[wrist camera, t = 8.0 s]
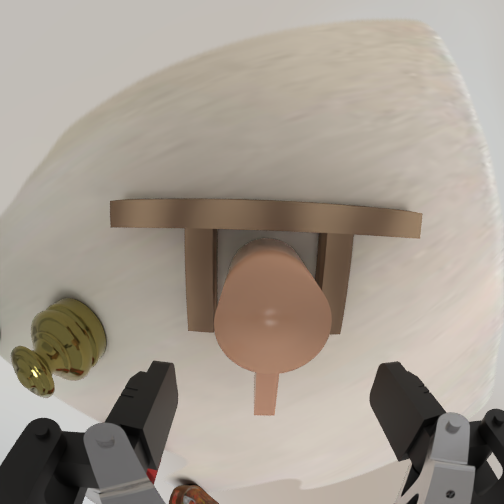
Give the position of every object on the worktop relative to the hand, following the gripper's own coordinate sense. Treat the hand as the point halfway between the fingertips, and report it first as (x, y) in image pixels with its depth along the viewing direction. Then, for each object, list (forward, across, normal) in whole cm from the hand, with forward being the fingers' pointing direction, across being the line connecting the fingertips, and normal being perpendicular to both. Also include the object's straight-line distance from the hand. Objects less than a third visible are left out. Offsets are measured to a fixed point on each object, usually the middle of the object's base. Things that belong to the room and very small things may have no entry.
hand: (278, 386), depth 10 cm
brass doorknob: (+14, +19, +7) cm, 24 cm away
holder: (+13, 0, 0) cm, 13 cm away
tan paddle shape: (+13, 0, +2) cm, 13 cm away
